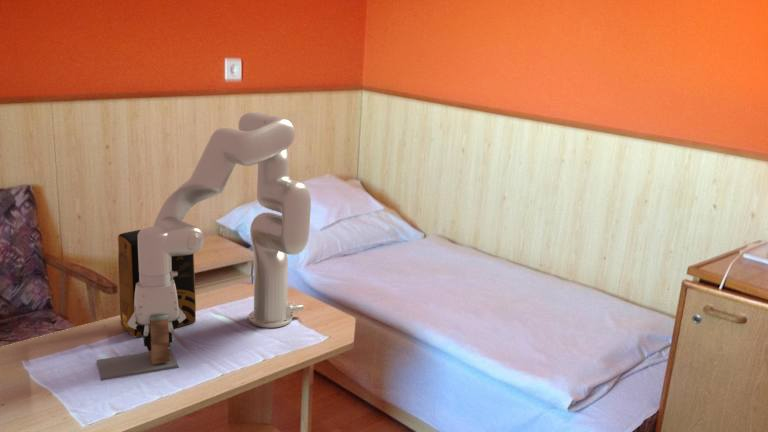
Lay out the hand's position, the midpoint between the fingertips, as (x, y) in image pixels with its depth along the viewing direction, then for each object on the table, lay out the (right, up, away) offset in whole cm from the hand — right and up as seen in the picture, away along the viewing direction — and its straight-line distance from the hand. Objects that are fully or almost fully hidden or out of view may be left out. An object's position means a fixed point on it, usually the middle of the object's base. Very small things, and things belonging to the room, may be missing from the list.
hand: (158, 346), depth 181 cm
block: (0, -3, +1) cm, 3 cm away
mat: (-5, -4, -1) cm, 7 cm away
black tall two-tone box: (-6, +2, +22) cm, 23 cm away
